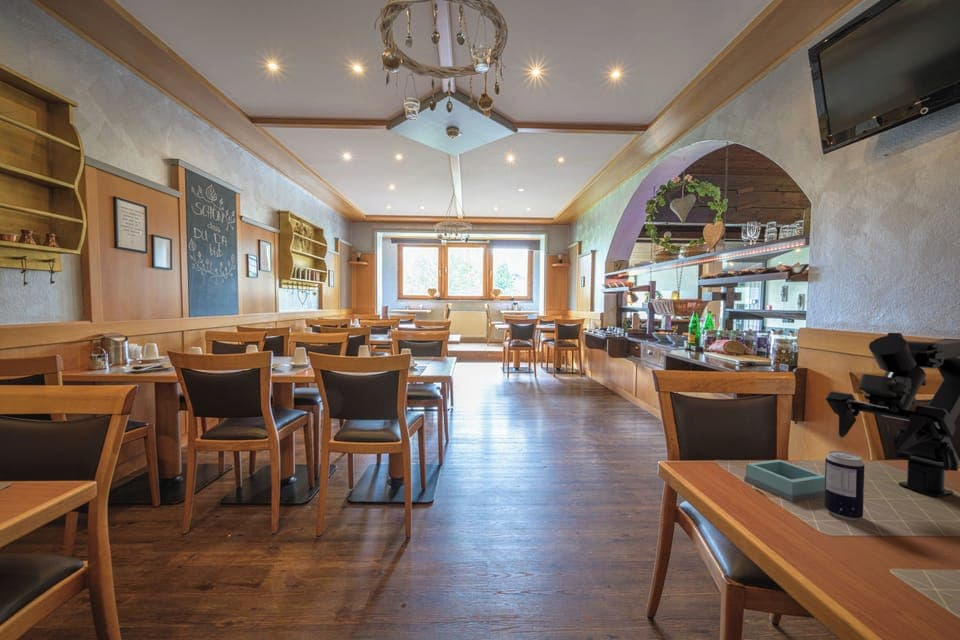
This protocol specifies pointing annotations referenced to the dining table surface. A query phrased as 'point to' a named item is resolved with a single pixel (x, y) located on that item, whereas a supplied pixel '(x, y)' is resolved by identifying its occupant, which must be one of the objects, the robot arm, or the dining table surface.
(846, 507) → the beverage can
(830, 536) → the dining table surface
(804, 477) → the can dock
